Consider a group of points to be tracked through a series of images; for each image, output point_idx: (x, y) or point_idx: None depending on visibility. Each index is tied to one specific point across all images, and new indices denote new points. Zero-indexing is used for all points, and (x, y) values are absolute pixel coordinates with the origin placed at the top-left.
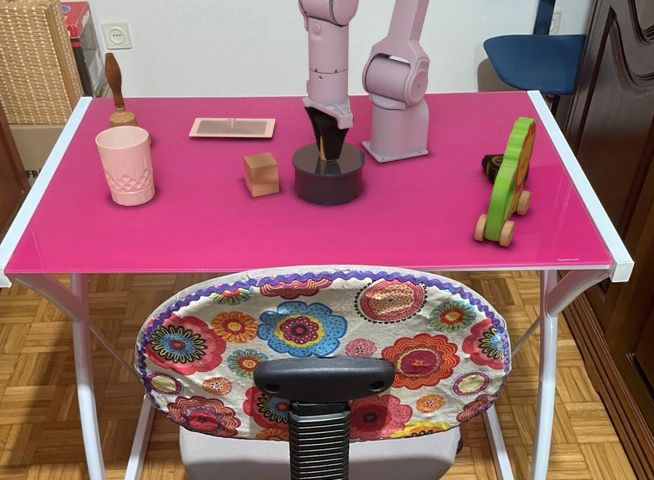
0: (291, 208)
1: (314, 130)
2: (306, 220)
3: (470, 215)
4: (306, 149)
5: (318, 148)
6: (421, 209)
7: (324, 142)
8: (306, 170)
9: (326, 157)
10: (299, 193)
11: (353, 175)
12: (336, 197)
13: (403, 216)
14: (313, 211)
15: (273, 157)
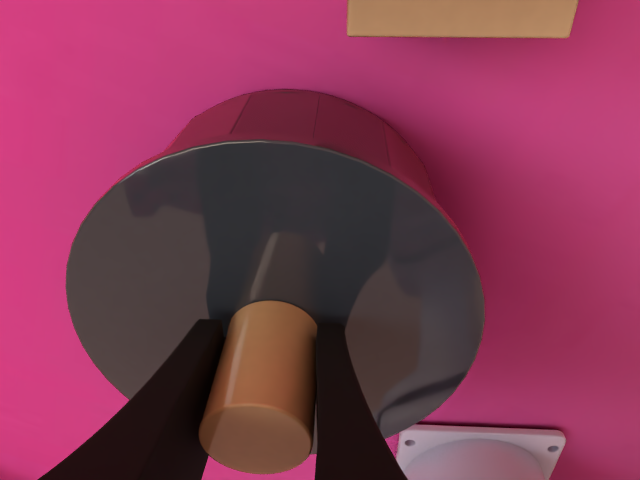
0: (160, 9)
1: (339, 419)
2: (32, 44)
3: (40, 474)
4: (424, 271)
5: (327, 332)
6: (83, 408)
7: (123, 409)
8: (141, 183)
9: (189, 331)
10: (256, 95)
11: None
12: None
13: (45, 360)
14: (114, 105)
15: (464, 37)
